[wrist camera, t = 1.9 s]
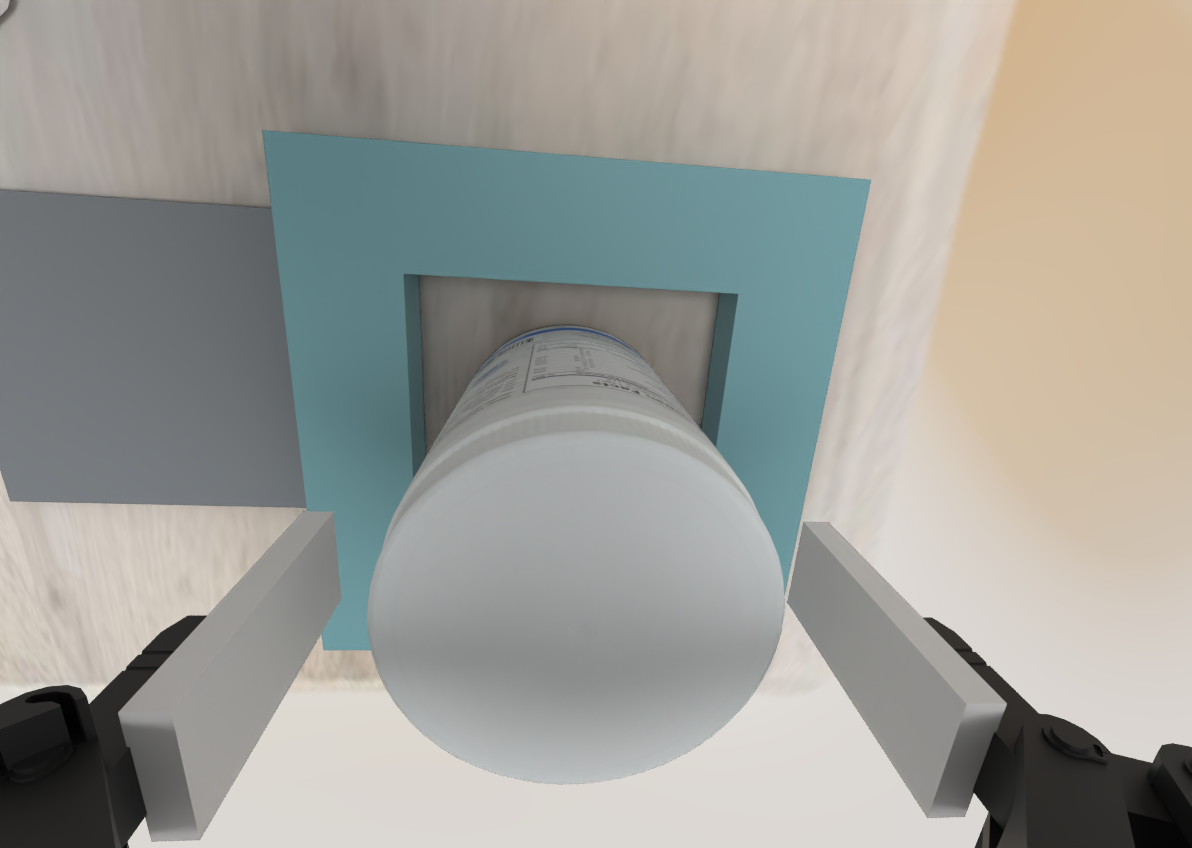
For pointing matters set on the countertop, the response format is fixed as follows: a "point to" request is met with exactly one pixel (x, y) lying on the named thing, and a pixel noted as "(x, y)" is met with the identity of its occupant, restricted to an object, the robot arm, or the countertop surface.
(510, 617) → the supplement tub
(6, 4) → the white jar
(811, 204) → the holder frame
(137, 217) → the slate mat
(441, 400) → the countertop surface
